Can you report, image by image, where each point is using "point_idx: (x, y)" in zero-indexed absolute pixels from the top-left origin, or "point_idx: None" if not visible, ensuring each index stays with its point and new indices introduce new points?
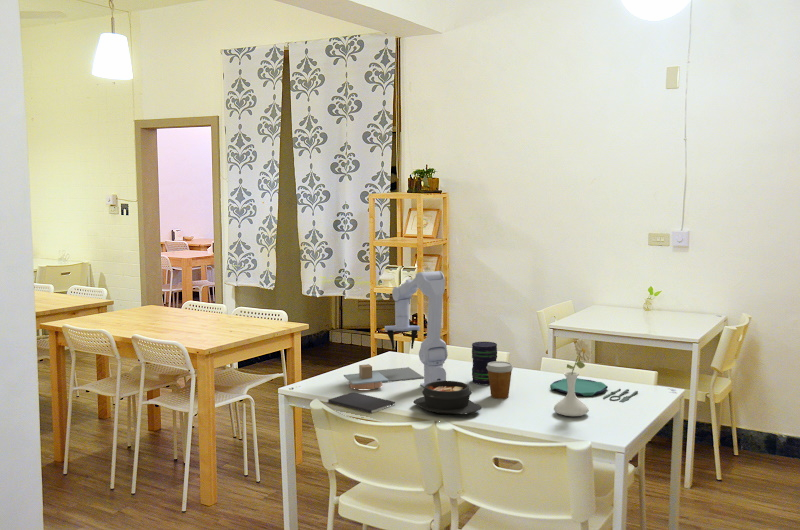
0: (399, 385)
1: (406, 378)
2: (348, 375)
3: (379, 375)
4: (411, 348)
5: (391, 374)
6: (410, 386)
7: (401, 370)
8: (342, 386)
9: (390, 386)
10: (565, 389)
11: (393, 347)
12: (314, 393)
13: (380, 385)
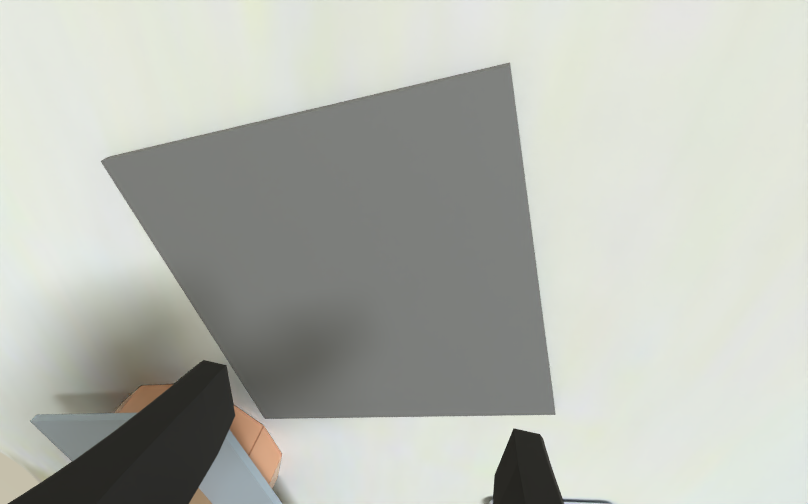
0: (373, 472)
1: (423, 411)
2: (64, 437)
3: (241, 482)
4: (499, 479)
5: (317, 302)
6: (430, 497)
7: (407, 199)
8: (89, 412)
9: (326, 471)
10: None
11: (215, 437)
12: (25, 456)
13: (273, 485)
